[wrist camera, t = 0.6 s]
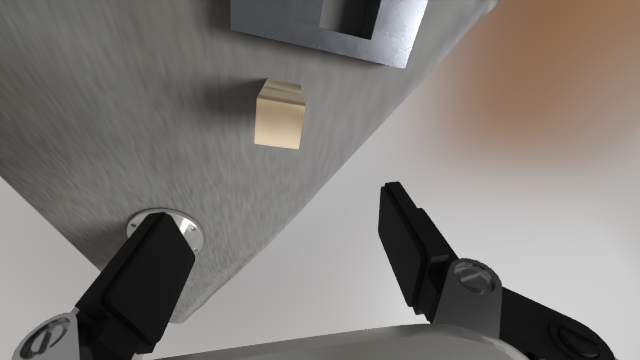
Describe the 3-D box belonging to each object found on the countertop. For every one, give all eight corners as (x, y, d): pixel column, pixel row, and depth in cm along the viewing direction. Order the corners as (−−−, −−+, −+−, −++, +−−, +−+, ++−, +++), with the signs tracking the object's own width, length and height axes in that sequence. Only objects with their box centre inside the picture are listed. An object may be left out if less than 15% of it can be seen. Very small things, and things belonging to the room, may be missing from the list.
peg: (295, 116, 34) (298, 149, 24) (265, 111, 34) (254, 143, 23) (300, 84, 32) (305, 106, 22) (267, 78, 31) (256, 98, 21)
